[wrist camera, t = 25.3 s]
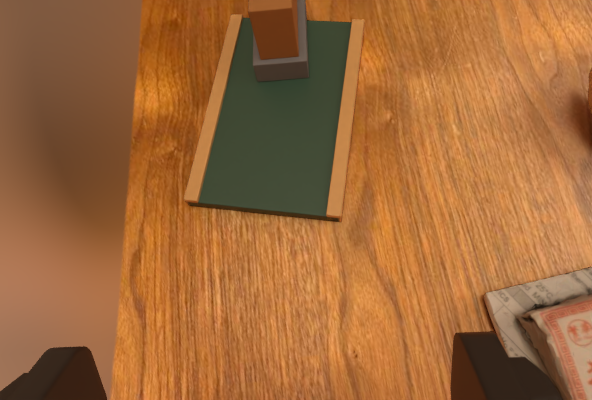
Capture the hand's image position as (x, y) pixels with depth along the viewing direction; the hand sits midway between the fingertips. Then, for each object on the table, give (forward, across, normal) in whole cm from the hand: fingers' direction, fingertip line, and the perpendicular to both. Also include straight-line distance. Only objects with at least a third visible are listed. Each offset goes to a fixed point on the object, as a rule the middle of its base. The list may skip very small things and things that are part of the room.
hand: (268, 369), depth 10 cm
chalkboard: (+33, +2, +1) cm, 33 cm away
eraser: (+37, +2, -4) cm, 38 cm away
